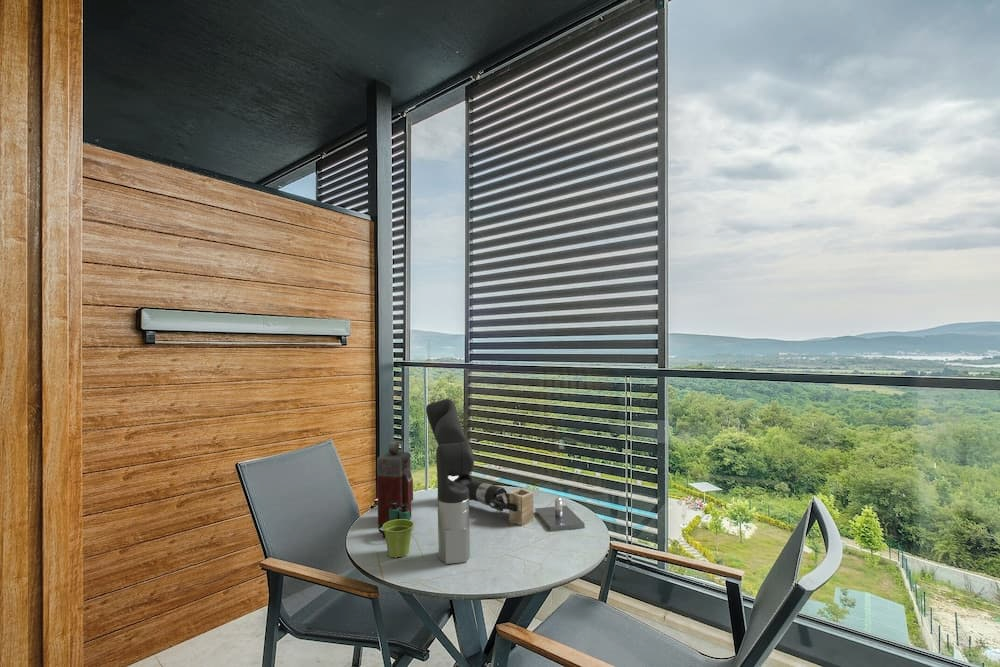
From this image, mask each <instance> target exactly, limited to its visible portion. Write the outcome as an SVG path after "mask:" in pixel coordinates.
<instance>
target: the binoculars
mask: <svg viewBox="0 0 1000 667" xmlns="http://www.w3.org/2000/svg"><path fill="white" fill-rule="evenodd" d="M391 506H392V508H390V509H389V520H386V522H387V521H391V520H397V519H407V520H411V518H410V513H409V510H407V504H403V505H401V508H399V507H397V502H396V501H391ZM386 522H385V523H386ZM383 524H384V523H383ZM383 524H381V525H378V527H377V529H378V532H379V533H380V534H382V536H381V537H382V538H383V539H386V537H385V533H384V530H383V529H382V526H383Z"/></svg>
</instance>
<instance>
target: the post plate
mask: <svg viewBox="0 0 1000 667" xmlns="http://www.w3.org/2000/svg"><path fill="white" fill-rule="evenodd" d="M534 510H535V514H536V515H537V517H538V516H539V518H538V519H539V520H541V522H542V523H543V524H544V525H545V527H546V528H547V530H549V532H556V531H557V532H558V531H568V530H569V531H570V530H577V529H585V527H586V526H585V522H584V521H582V520H581V518H580V517H579V516H578V515H577V514H576V513H574V511H573V510H572V509H571V508H569V506H567V505H563V499H562V498H561V497H560V496H559V497H556V498H555V499H554V506H546V507H537V508H534Z"/></svg>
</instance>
